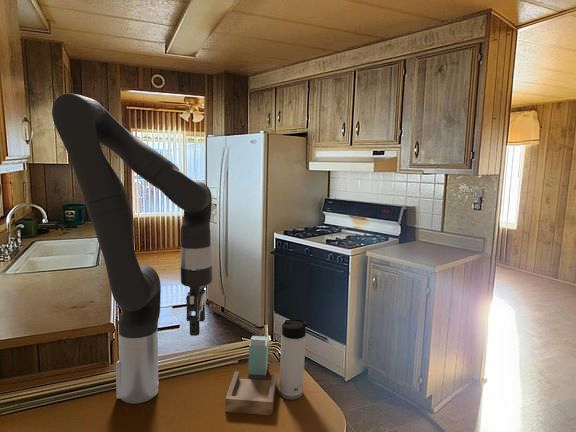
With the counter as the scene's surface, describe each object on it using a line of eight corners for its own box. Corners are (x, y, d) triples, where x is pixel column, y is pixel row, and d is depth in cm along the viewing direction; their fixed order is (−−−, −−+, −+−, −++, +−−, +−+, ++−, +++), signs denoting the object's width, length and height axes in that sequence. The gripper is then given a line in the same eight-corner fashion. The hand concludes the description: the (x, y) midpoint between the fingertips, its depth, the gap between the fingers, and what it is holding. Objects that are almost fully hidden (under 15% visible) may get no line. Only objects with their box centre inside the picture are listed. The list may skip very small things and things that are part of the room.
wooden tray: (225, 411, 97) (225, 398, 96) (234, 383, 109) (234, 371, 108) (271, 415, 96) (272, 402, 96) (276, 386, 108) (276, 374, 108)
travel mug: (301, 401, 102) (305, 328, 99) (276, 397, 103) (279, 324, 100) (305, 388, 108) (309, 318, 105) (281, 384, 109) (284, 315, 106)
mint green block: (248, 379, 111) (249, 339, 109) (251, 367, 117) (252, 329, 115) (265, 380, 111) (266, 340, 109) (267, 368, 117) (268, 331, 115)
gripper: (186, 257, 104) (188, 317, 106) (173, 272, 90) (176, 340, 92) (215, 257, 104) (216, 316, 106) (207, 271, 90) (209, 340, 92)
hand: (197, 327), depth 99 cm, fingers open, 8 cm apart
